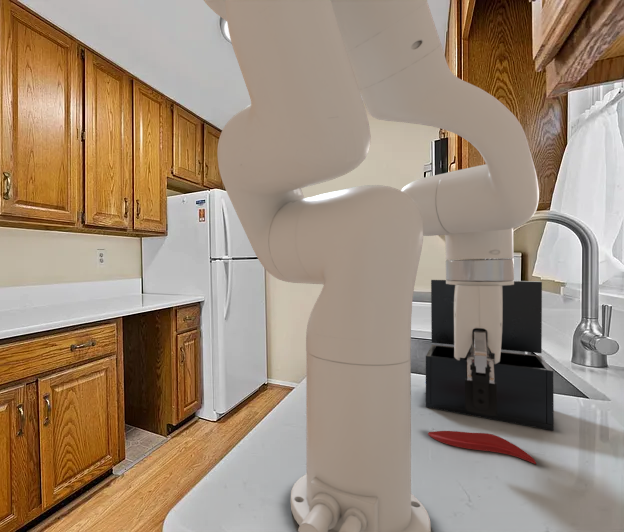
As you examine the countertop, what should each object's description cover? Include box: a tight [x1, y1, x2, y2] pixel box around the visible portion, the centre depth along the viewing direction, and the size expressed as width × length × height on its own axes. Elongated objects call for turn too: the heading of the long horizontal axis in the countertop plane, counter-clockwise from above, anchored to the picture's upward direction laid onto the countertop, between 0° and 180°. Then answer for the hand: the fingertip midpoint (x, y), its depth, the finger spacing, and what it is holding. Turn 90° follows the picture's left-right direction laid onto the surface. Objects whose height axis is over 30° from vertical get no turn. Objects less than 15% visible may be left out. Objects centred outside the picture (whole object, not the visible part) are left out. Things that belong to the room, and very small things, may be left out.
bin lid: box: [430, 279, 543, 354], centre depth 70 cm, size 12×17×6 cm
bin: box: [425, 344, 555, 431], centre depth 64 cm, size 12×17×9 cm
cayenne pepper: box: [427, 430, 537, 465], centre depth 50 cm, size 12×5×2 cm, turn 42°
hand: (480, 400), depth 50 cm, fingers open, 9 cm apart
